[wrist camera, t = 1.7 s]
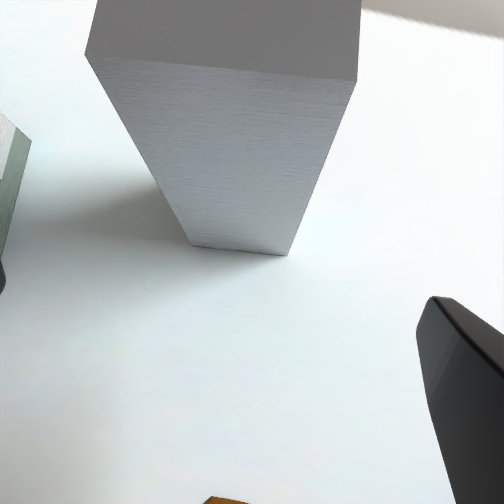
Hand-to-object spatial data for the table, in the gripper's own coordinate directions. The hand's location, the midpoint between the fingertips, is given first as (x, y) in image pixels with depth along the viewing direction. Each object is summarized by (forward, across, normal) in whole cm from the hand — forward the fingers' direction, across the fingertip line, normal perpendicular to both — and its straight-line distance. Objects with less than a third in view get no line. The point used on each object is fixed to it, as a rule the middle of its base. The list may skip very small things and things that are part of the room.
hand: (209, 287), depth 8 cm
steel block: (+12, 0, +4) cm, 13 cm away
